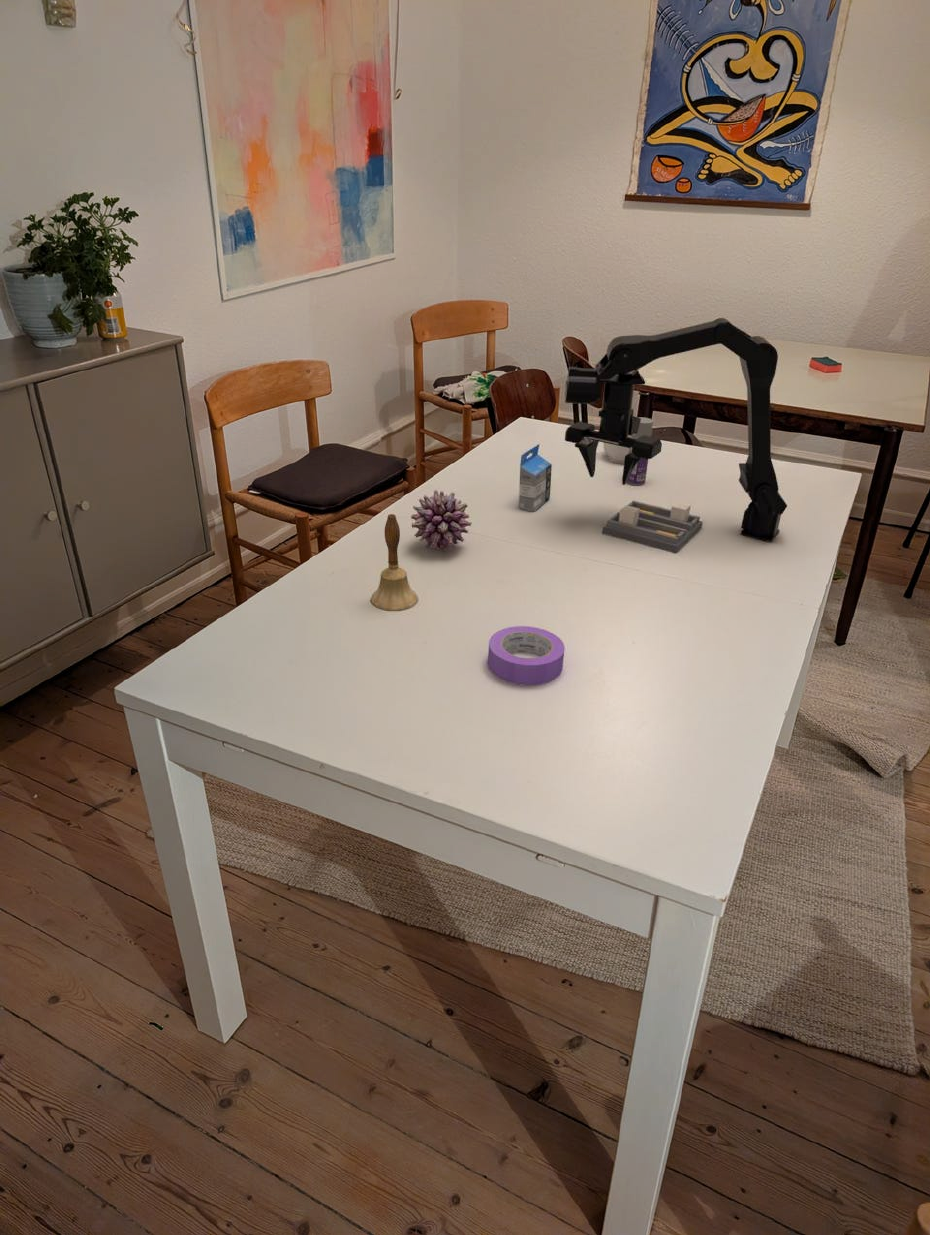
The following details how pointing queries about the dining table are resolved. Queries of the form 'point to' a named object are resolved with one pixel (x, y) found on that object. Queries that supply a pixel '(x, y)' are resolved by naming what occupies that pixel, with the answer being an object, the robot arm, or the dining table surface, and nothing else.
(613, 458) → the lidded jar
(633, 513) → the tab
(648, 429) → the container
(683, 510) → the beige rectangular block
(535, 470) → the label tape box
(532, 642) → the masking tape
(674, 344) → the robot arm
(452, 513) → the flower
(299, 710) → the dining table surface
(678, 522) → the switch bank
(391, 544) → the hand bell
